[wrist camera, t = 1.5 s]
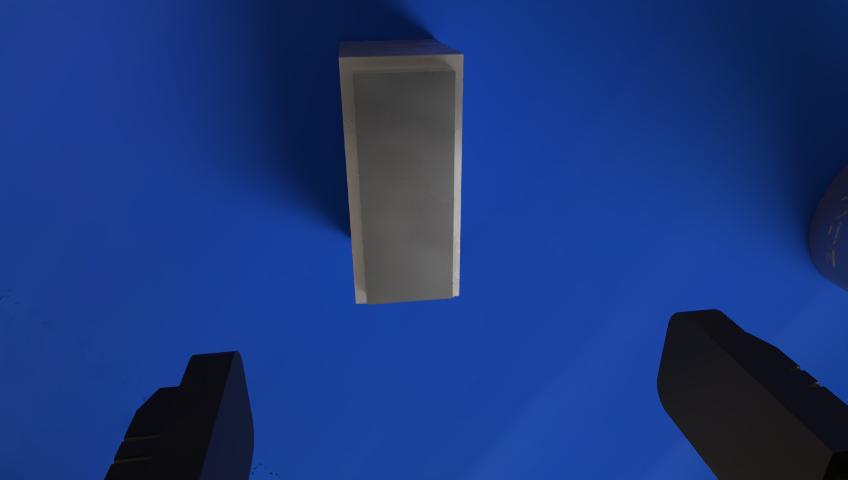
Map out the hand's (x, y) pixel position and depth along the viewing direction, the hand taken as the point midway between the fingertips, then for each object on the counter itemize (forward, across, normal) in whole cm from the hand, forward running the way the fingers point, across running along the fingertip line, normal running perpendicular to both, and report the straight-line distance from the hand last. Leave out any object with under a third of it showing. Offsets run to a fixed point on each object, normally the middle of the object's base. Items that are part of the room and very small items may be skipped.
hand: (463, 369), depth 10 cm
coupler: (+16, 0, 0) cm, 16 cm away
